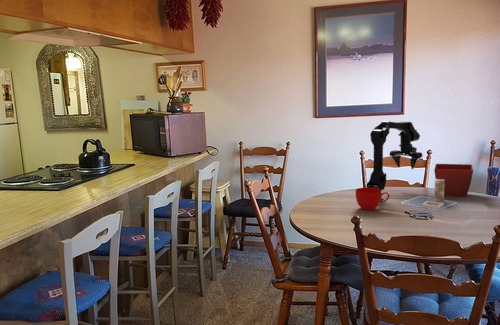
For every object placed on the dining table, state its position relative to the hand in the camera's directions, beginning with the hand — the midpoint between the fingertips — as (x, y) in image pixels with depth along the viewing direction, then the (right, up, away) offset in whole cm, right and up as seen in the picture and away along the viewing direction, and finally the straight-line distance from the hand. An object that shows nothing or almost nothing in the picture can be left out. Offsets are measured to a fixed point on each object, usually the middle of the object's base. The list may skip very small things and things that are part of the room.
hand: (405, 168), depth 236 cm
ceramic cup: (-30, -21, -31) cm, 48 cm away
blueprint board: (+1, -19, -28) cm, 34 cm away
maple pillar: (+7, -18, -28) cm, 33 cm away
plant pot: (+23, -16, -11) cm, 30 cm away
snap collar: (0, -19, -35) cm, 40 cm away
